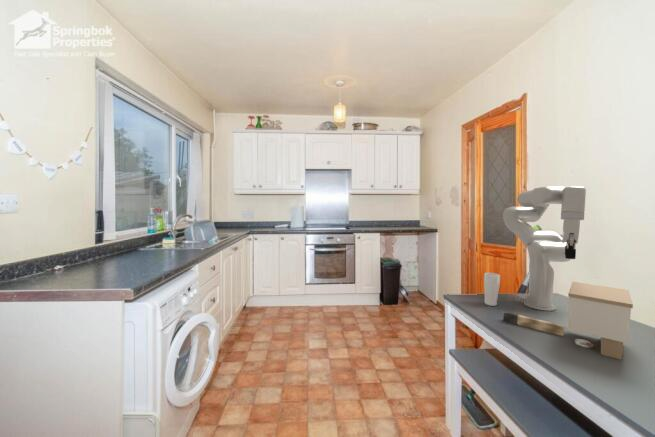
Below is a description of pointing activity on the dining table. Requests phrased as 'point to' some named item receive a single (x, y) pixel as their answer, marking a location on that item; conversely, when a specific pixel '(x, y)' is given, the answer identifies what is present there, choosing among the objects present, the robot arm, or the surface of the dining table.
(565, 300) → the dining table surface
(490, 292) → the drinking glass
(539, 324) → the two-tone wooden stick
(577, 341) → the steel disc
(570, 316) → the cabinet
